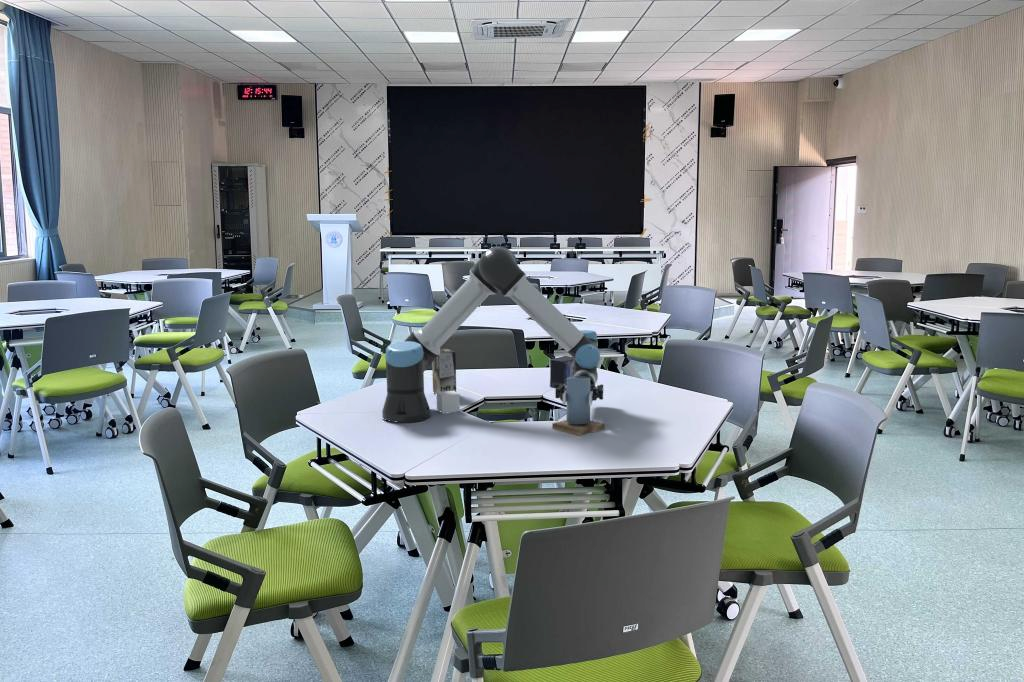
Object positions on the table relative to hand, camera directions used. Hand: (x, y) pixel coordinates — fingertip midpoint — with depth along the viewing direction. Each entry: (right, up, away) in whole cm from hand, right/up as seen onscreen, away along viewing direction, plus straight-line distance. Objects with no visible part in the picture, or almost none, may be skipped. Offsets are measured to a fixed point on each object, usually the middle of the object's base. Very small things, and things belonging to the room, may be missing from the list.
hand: (576, 400), depth 235 cm
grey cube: (-40, -6, +31) cm, 50 cm away
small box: (+1, 0, +67) cm, 67 cm away
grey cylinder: (+1, -7, +6) cm, 9 cm away
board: (+1, -9, +6) cm, 11 cm away
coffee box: (-43, -2, +54) cm, 69 cm away
